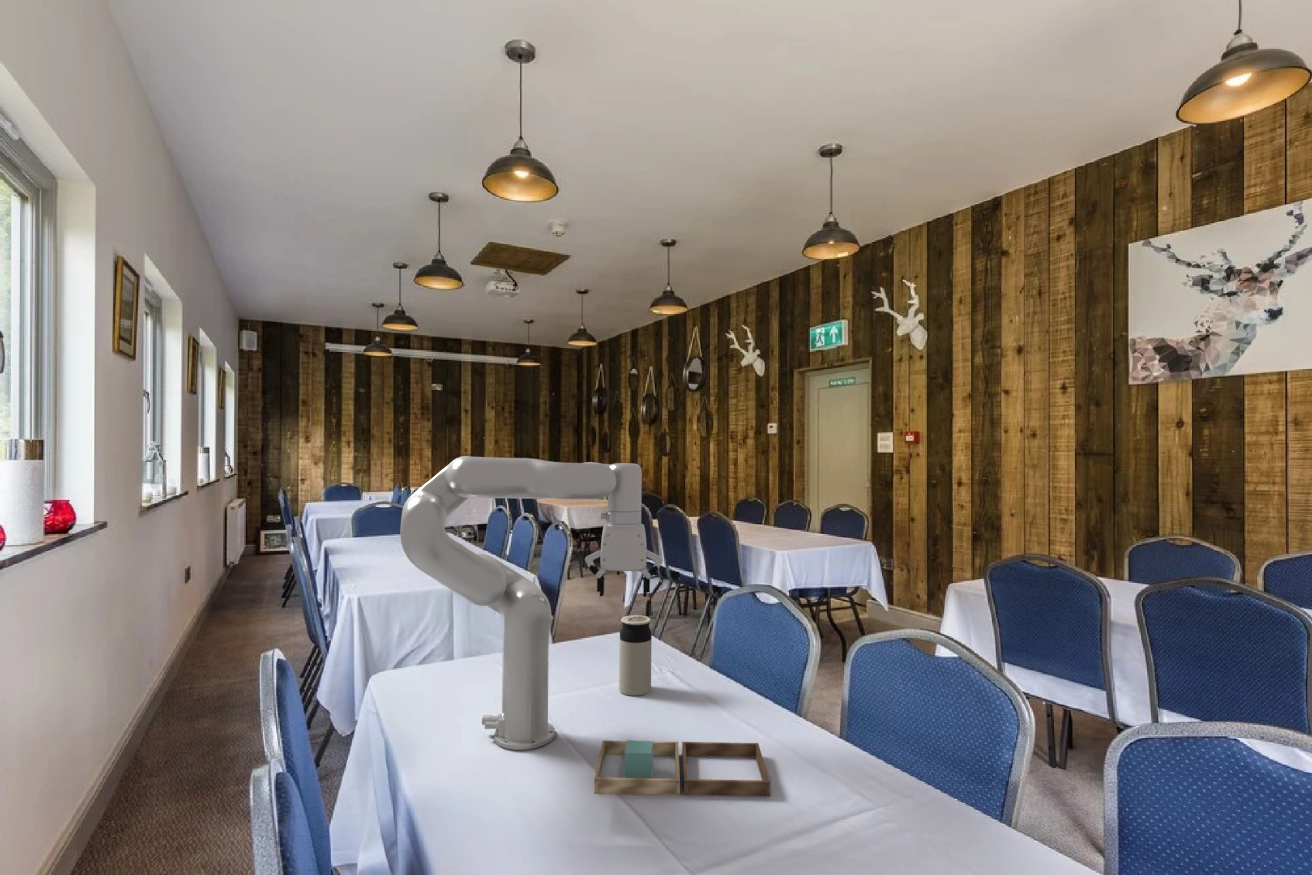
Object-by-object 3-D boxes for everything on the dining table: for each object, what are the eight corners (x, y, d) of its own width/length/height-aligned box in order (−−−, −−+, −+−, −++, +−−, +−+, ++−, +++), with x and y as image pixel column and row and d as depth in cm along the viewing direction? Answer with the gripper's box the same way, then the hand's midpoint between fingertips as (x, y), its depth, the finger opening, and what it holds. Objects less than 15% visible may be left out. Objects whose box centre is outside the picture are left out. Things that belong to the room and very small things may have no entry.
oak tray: (594, 793, 117) (594, 779, 117) (602, 752, 132) (602, 740, 132) (679, 794, 117) (679, 780, 117) (678, 754, 132) (678, 741, 132)
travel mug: (656, 688, 167) (657, 617, 167) (639, 699, 160) (640, 625, 160) (631, 682, 171) (631, 613, 171) (612, 692, 164) (613, 619, 165)
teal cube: (624, 779, 122) (624, 752, 122) (626, 766, 127) (627, 740, 127) (651, 780, 122) (651, 753, 122) (652, 767, 127) (652, 741, 127)
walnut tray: (684, 794, 117) (684, 780, 117) (682, 754, 132) (682, 741, 132) (770, 796, 117) (770, 782, 117) (758, 755, 132) (758, 743, 132)
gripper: (583, 520, 143) (582, 598, 143) (663, 521, 143) (662, 599, 143) (587, 516, 151) (586, 591, 151) (663, 517, 151) (662, 592, 151)
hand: (623, 595), depth 147 cm, fingers open, 9 cm apart
